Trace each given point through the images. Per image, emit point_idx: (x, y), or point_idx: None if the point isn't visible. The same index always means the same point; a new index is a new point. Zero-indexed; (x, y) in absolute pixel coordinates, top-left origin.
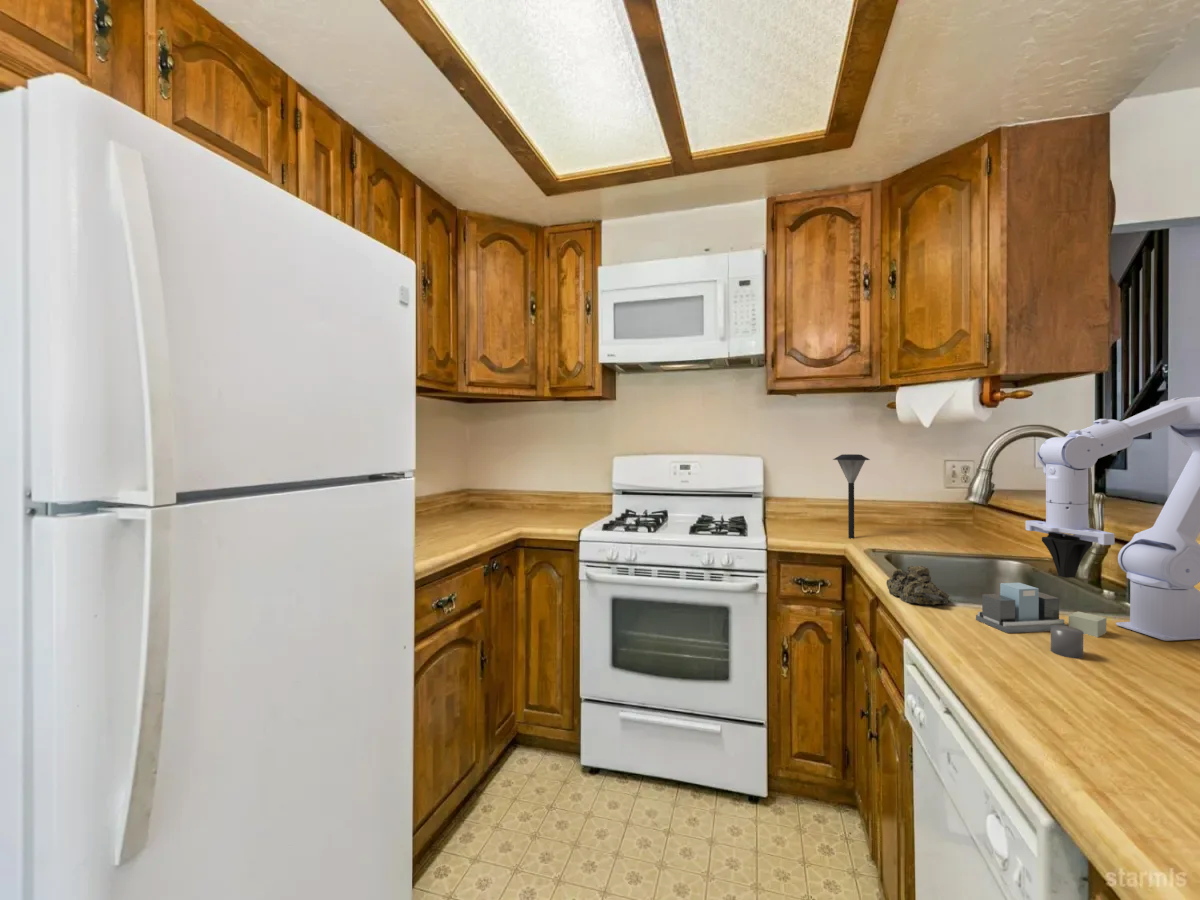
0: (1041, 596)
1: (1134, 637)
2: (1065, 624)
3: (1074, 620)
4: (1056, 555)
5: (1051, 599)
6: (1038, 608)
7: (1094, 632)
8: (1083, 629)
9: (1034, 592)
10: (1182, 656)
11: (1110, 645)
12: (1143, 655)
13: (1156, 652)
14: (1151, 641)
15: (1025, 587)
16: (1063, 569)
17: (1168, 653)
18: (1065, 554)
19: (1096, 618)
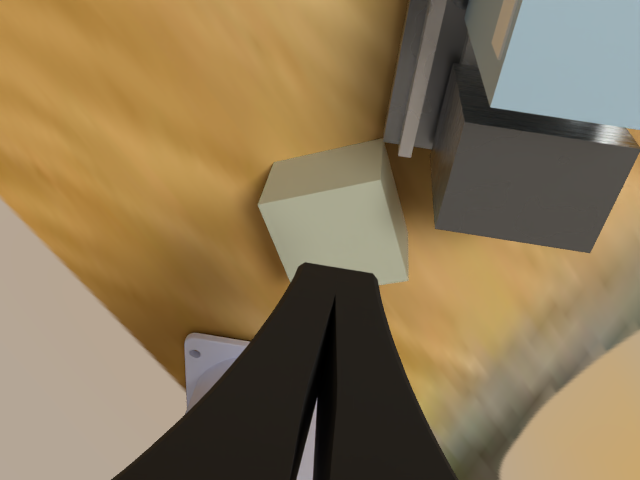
0: (513, 160)
1: (245, 290)
2: (388, 138)
3: (355, 173)
4: (341, 434)
5: (448, 171)
6: (472, 43)
7: (280, 170)
8: (321, 162)
9: (496, 46)
10: (58, 237)
11: (178, 108)
12: (63, 113)
13: (95, 197)
14: (200, 298)
15: (574, 18)
16: (287, 302)
17: (86, 225)
18: (167, 445)
19: (296, 247)
